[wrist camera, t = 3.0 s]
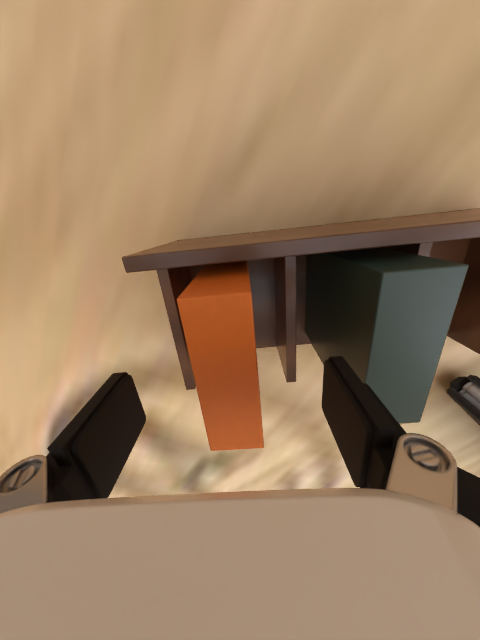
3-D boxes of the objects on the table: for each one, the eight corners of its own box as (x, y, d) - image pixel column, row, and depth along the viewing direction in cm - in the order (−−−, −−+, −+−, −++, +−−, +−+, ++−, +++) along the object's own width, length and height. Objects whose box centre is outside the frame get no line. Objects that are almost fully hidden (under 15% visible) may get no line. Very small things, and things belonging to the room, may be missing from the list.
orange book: (213, 254, 21) (175, 298, 9) (246, 251, 21) (251, 291, 9) (226, 340, 24) (211, 453, 13) (253, 338, 24) (264, 450, 12)
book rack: (177, 240, 21) (120, 257, 11) (480, 208, 20) (719, 195, 10) (199, 349, 26) (173, 428, 16) (443, 329, 24) (579, 402, 15)
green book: (306, 244, 20) (382, 272, 9) (345, 240, 20) (469, 264, 9) (304, 334, 24) (357, 429, 13) (337, 331, 24) (419, 425, 13)
